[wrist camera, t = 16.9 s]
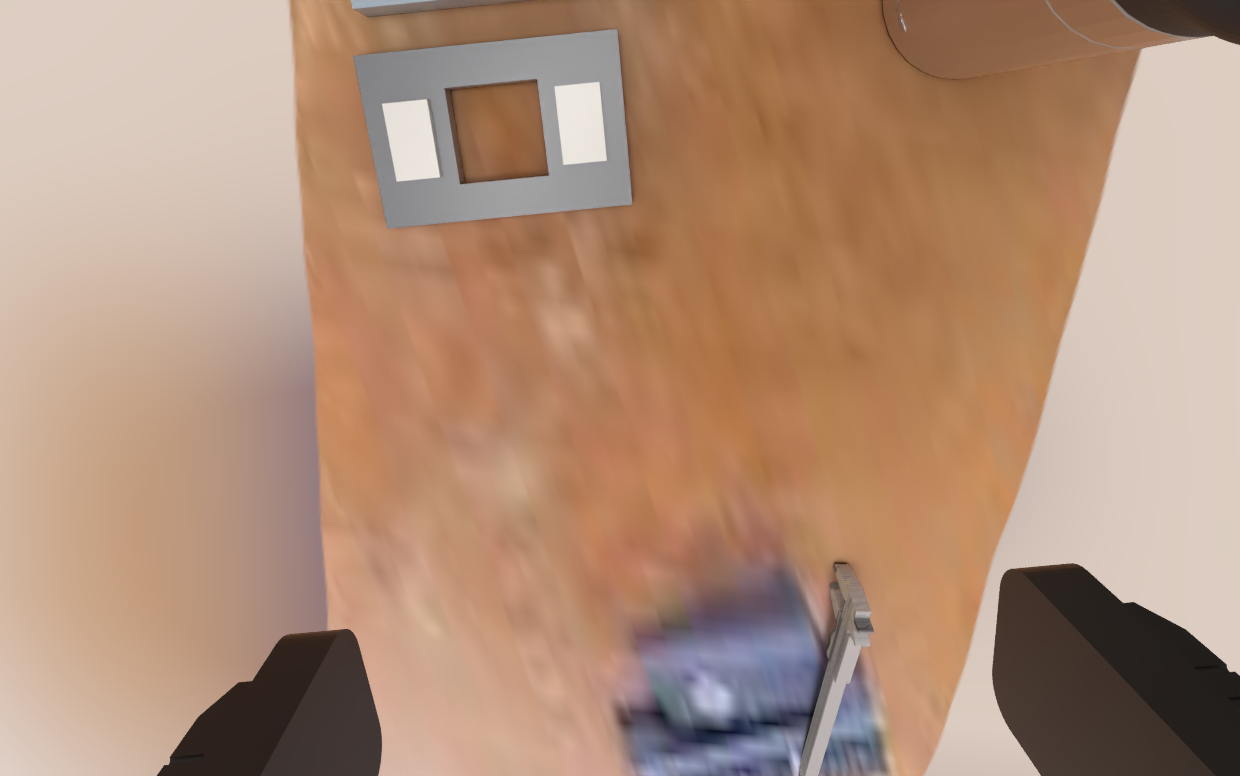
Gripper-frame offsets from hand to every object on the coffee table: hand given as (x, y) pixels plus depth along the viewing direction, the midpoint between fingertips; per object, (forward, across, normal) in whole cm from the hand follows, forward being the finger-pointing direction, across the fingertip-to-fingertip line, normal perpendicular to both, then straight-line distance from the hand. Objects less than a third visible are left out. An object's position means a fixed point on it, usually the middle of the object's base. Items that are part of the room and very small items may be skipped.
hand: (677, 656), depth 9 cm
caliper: (+36, -12, +34) cm, 51 cm away
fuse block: (+36, +6, -7) cm, 37 cm away
